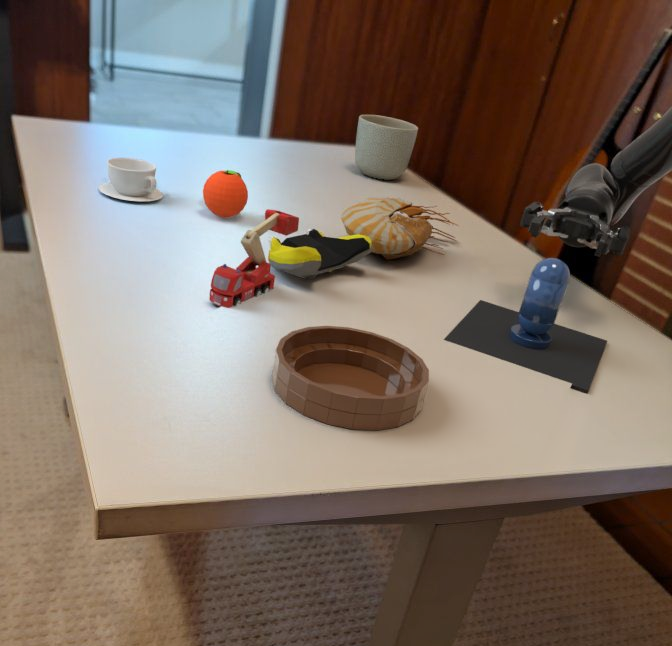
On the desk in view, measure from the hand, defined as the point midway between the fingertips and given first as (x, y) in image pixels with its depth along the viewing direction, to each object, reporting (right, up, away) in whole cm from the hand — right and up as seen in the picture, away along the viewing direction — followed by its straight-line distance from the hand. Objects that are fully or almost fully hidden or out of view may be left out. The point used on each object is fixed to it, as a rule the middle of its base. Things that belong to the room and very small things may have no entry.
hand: (567, 239), depth 98 cm
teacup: (-63, +13, +22) cm, 68 cm away
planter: (-21, +30, +63) cm, 73 cm away
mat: (-6, -14, -2) cm, 15 cm away
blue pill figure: (-5, -13, -2) cm, 15 cm away
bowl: (-29, -22, -22) cm, 42 cm away
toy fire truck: (-41, -8, -4) cm, 42 cm away
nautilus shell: (-20, +3, +20) cm, 29 cm away
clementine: (-48, +9, +21) cm, 53 cm away
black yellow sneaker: (-33, -3, +7) cm, 34 cm away
